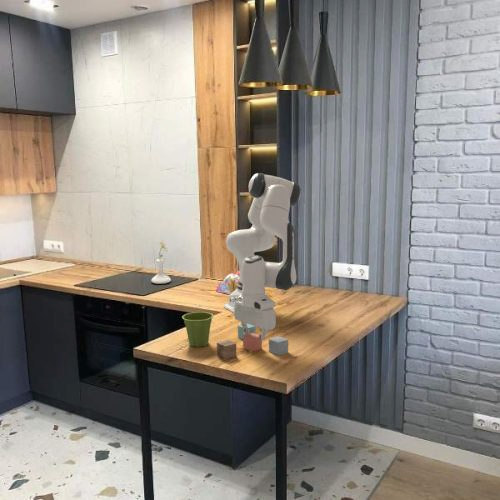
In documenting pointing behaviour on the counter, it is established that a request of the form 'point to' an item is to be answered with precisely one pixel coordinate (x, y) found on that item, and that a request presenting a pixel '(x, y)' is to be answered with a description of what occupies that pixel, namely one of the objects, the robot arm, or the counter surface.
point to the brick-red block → (252, 342)
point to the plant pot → (198, 327)
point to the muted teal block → (240, 333)
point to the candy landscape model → (229, 283)
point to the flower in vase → (161, 270)
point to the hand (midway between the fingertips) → (254, 336)
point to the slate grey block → (278, 345)
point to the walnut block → (226, 349)
